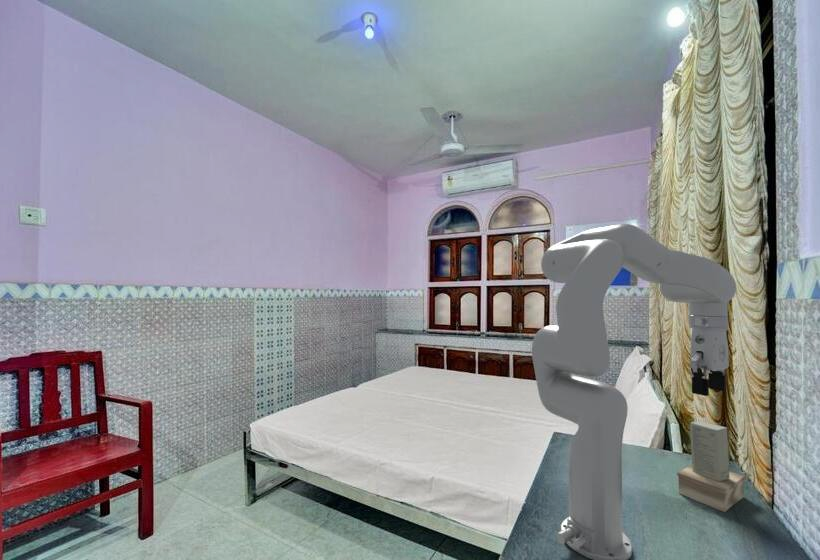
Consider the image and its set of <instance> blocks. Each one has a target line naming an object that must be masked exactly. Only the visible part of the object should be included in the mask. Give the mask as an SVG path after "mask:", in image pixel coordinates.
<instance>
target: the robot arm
mask: <svg viewBox="0 0 820 560" xmlns="http://www.w3.org/2000/svg"><path fill="white" fill-rule="evenodd" d="M541 257H542V258H541V263H540V265H541V266H540V267H541V271H542V273H543V274H544V276H545V278H547V279H548V280H549V281H551V282H554V283H557V284H564V285H563V286H562V288H561V290H560V292H559V294H558V296H557V299H556V305H555V312H556V321H557V325H556V324H555V325H554V324H552V325H546V326H544V327H541V328H540V329H539V330H538V331H537V332H536V333H535V335H534V337H533V340H532V344H531V356H532V364H533V369H534V374H535V375H534V376H535V380H536V386H537V392H538V395H539V399H540V401H541V404H542V406H543V407H544V408H545V409H546V410H547V411H548V413H551V414H552V415H555V416H556V417H560V418H562V419H564V420H567V421H569V422H572V423H574V424H576V425H577V427H578V429H577V431H576V432H575V433H574V435H572V438H571V439H570V442H569V445H568V517H567V518H565V519H564V520H563V521H562V522H561V524H560V531H557V532H556V534H555V539H556V541H557V542H558V543H559V544H560V545H564V544H567V545H568V546H569V548H570V549H572V550H573V551H575V552H576V553H578V554H579V555H581V556H583V557H586V558H587V559H590V560H629V559H630V558H631V557H632V554H633V545H632V541H631V540H630V539H629V537H628V536H627V534H625V533H624V532H623V466H622V465H623V462H622V461H623V459H622V458H623V456H622V455H623V438H624V432H625V427H626V426H625V425H626V422H627V418H628V410H629V409H628V408H629V407H628V401H627V399H626V397H625V395H624V394H623V393H622V392H621V390H619V389H618V388H616V387H614V386H613V385H611V384H608V383H607V382H604V381H600V380H595V379H592V378H598V377H601V376H604V375H605V374H607V372H608V370H609V369H610V365H611V353H610V346H609V340H608V334H607V328H606V323H605V315H604V302H605V301H604V300H605V297H606V294H607V292H608V290H609V287H610V286H611V285H612V283H613V282H614V281H615V279H616V278H617V276H618V275H619V274H620V272H621V270H622V269H625V270H626V271H628V272H629V273H631V274H632V275H635V276H636V277H638V278H639V279H641V280H642V281H645V282H648V283H654V284H660V285H659V289H660V293H661V295H662V296H663V298H665V299H666V300H668V301H670V302H673V303H684V304H685V303H686V304H688V325H689V326H688V328H689V329H691V337H690V355H689V356H690V361H689V363H690V367H691V368H690V371H691V374H690V377H691V393H692V394H695V395H698V396H705V397H708V396H709V395H710V390H715V391H718V392H719V391H720V392H724V391H725V390H726V375H725V374H726V370H727V369H728V368H729V367H730V360H729V359H730V358H729V343H728V337H727V331H728V330H729V322H728V319H729V317H728V307H729V306H728V302H730V301H731V300H733V298H734V297H735V295H736V294H737V284H736V280H735V278H734V276H733V275H732V273H731V272H730V271H728V269H727V268H725V267H724V266H722V265H721V264H720V263H718V262H716V261H714V260H712V259H710V258H708V257H704V256H700V255H696V254H691V253H688V252H685V251H684V252H683V251H680V250H675V249H671V248H668V247H667V246H666V245H664V244H663V243H661V242H659V241H658V240H656V238H654V237H652V236H651V235H650V234H648V233H647V232H646V231H644V230H642V229H641V227H638V226H636V225H634V224H629V223H621V224H614V225H609V226H603V227H597V228H591V229H589V230H585V231H582V232H580V233H578V234H575V235H574V236H572V237H569V238H567V239H565V240H562V241H560V242H558V243H556V244H554V245H552V246H550V247H548V249H546V251H545V252H544V253H543V255H542V256H541ZM707 377H708V378H707ZM709 389H710V390H709Z"/></svg>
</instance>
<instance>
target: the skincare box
mask: <svg viewBox="0 0 820 560" xmlns="http://www.w3.org/2000/svg"><path fill="white" fill-rule="evenodd" d="M689 425H690V426H689V427H690V428H689V429H690V430H689V431H690V447H691V448H690V450H691V451H690V452H691V465H692V471H694V472H697V473H699V474H702V475H704V476H707V477H709V478H712V479H714V480H717V481H723V480H726V479H728V478H730V476H729V471H730V462H729V460H730V459H729V441H728V427H726V426H722V425H718V424H714V423H711V422H707V421H703V420H701V419H700V420H694V421H691V422H690V423H689Z"/></svg>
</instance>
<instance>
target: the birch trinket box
mask: <svg viewBox="0 0 820 560" xmlns="http://www.w3.org/2000/svg"><path fill="white" fill-rule="evenodd" d="M676 473H677V476H678V494H680V495H682V496H684V497H688V498H690V499H692V500H694V501H697V502H698V503H699V502H700V503H701V504H705V505H707V506H709V507H712V508H714V509H716V510H719V511H721V512H724V513H725V512H727V511H728V510H730V508H731V507H733V506H734V505H736V503H738V502H739V501H741V500H742V499H743V498H745V496H744V495H745V493H744V492H745V491H744V490H745V489H744V481H745V480H746V477H745V475H741V474H740V473H739V474H738V473H736V472H733V471H730V470H729V476H730V478H728V479H726V480H723V481H717V480H714V479H712V478H709V477H707V476H704V475H702V474H699V473H697V472H694V471H692V464H691V465H689V466H686V467H685V468H683V469H681V470H680V471H677V472H676Z"/></svg>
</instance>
